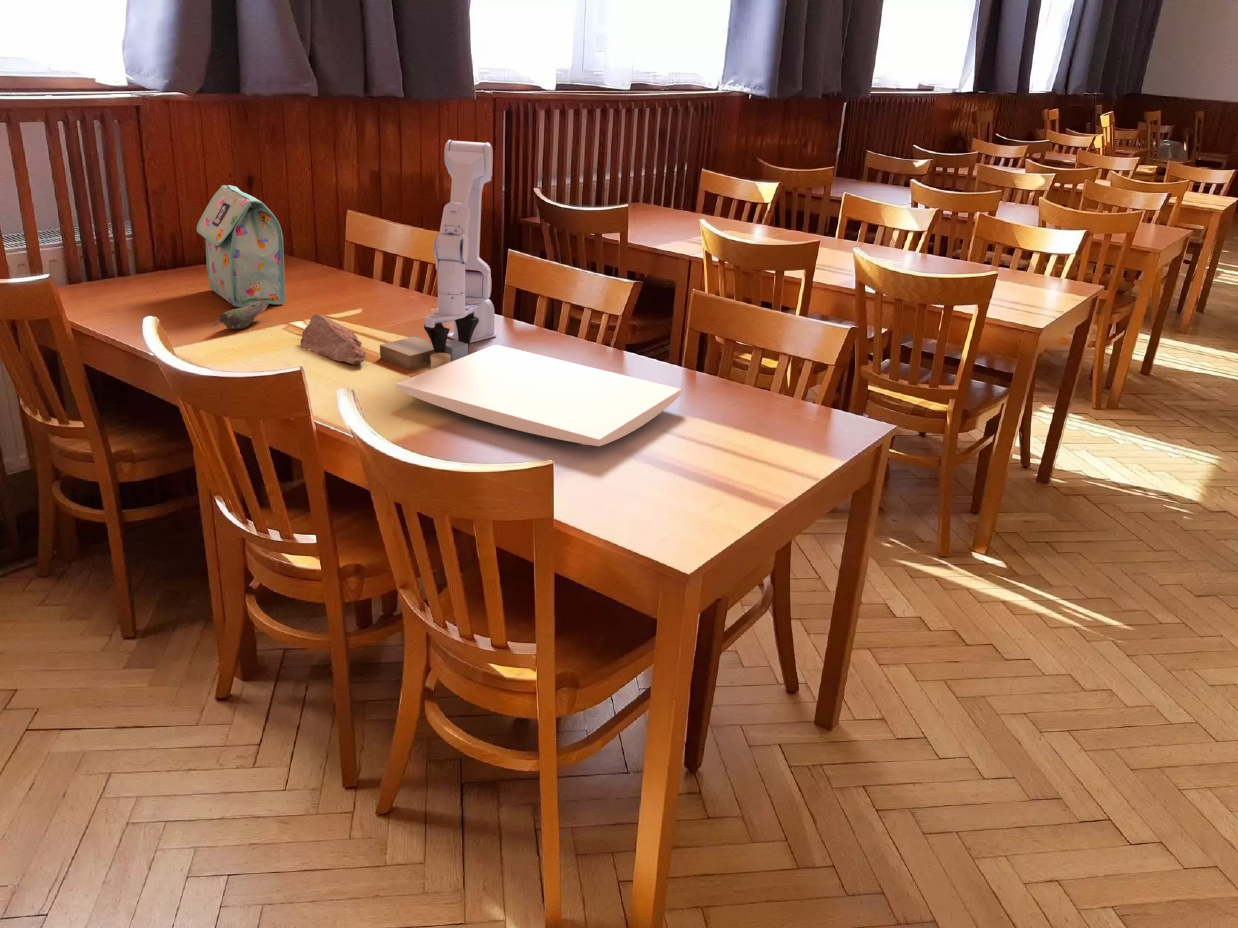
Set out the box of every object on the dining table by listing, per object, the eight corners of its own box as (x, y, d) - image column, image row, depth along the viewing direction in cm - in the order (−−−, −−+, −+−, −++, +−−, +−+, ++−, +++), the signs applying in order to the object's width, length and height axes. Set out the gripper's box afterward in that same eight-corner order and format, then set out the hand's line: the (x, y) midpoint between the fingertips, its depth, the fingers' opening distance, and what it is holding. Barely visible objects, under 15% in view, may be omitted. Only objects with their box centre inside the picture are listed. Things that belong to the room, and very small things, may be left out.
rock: (340, 366, 203) (369, 328, 205) (288, 339, 219) (316, 304, 221) (372, 392, 211) (400, 355, 212) (321, 364, 227) (347, 330, 228)
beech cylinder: (441, 374, 206) (441, 351, 204) (454, 379, 204) (454, 356, 202) (426, 378, 203) (426, 355, 201) (439, 383, 201) (439, 360, 199)
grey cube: (454, 358, 216) (454, 339, 215) (468, 363, 214) (467, 344, 212) (439, 362, 213) (438, 343, 211) (452, 367, 211) (452, 348, 209)
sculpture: (202, 336, 220) (200, 314, 218) (261, 316, 236) (260, 296, 234) (219, 339, 218) (216, 317, 216) (277, 319, 235) (275, 299, 233)
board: (679, 411, 196) (681, 389, 194) (597, 464, 170) (599, 439, 168) (495, 365, 215) (495, 344, 213) (396, 406, 189) (396, 383, 187)
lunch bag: (200, 290, 254) (188, 183, 243) (264, 284, 263) (255, 181, 252) (227, 312, 238) (215, 199, 227) (294, 305, 247) (285, 196, 236)
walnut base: (416, 349, 221) (415, 336, 219) (446, 359, 215) (445, 346, 214) (380, 358, 213) (379, 344, 212) (410, 369, 208) (409, 355, 206)
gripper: (460, 282, 215) (460, 342, 220) (413, 294, 204) (414, 356, 209) (484, 288, 212) (484, 348, 217) (438, 300, 200) (439, 363, 206)
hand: (452, 353), depth 213 cm, fingers open, 7 cm apart
